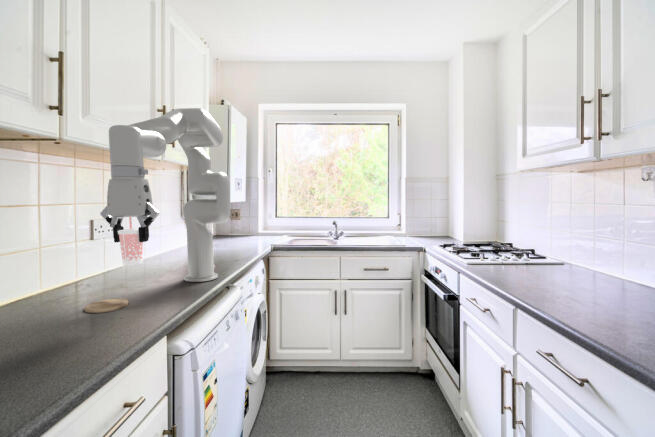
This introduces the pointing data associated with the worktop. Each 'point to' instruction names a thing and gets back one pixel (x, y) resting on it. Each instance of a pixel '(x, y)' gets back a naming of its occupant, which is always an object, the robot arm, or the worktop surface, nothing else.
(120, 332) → the worktop surface
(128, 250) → the beverage cup
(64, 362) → the worktop surface
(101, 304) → the plate
